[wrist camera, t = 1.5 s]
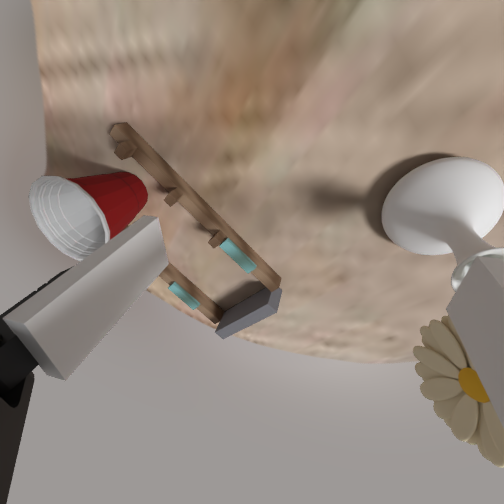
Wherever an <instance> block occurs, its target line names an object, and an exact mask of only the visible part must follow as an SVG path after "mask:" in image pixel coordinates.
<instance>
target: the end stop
mask: <svg viewBox="0 0 504 504" xmlns="http://www.w3.org/2000/svg"><path fill="white" fill-rule="evenodd" d="M281 294H282V290H281V289H280V288H278V289H276V290H274V291H273V292H271V291H270V290H269V289H268V288H264V289H262V290H261V291H259V292H257V293H256V294H254V295H252V296H251V297H249V298H247V299H245V300H244V301H242V302H240V303H239V304H237V305H235V306H234V307H232V308H230V309H228V310H227V311H225V312H224V314H223V316H222V318H221V320H220V323H219V325H218V327H217V329H216V331H215V333H216V334H218V335H219V336H220V337H221V338H222V339H224V338H226V337H228V336H230V335H232V334H234V333H236V332H238V331H240V330H242V329H244V328H247V327H249V326H251V325H253V324H255V323H257V322H259V321H261V320H263V319H265V318H267V317H269V316H271V315H273V314H275V313H277V310H278V306H279V302H280V298H281Z"/></svg>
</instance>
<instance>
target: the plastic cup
mask: <svg viewBox="0 0 504 504" xmlns="http://www.w3.org/2000/svg"><path fill="white" fill-rule="evenodd" d="M147 198H148V193H147V190H146V187H145V185H144V184H143V182H142V181H141V180H140V179H139V178H138V177H137V176H135V175H133V174H131V173H129V172H117V173H111V174H101V175H94V176H87V177H80V178H74V179H73V178H68V179H67V178H63V177H61V176H41V177H40V178H39V179H37V180H36V181H35V182H33V183H32V186H31V189H30V193H29V201H30V208H31V212H32V214H33V217H34V219H35V221H36V223H37V225H38V227H39V229H40V230H41V231H42V232H43V234H44V235H45V236H46V238H47V239H48V240H49V241H50V242H51V243H52V244H53V245H54V246H55V247H56V248H58V249H59V250H60V251H61V252H62V253H64V254H66V255H68V256H70V257H72V258H74V259H76V260H78V261H82V260H83V259H85V258H86V257H87V256H89V255H90V254H92V253H93V252H94V251H96V250H97V249H98V248H100V247H101V246H103V245H104V244H105V243H107V242H108V241H109V240H111V239H112V238H114V237H115V236H116V235H118V234H119V233H120V232H122V231H123V230H124V228H125V227H126V226H127V225H128V224H129V223H130V222H131V221H132V220H133V219H134V218H135V216H136V215H137V214H138V213H139V212H140V210H141V209H142V208H143V207H144V205H145V204H146V202H147Z"/></svg>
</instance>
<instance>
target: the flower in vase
mask: <svg viewBox="0 0 504 504" xmlns="http://www.w3.org/2000/svg"><path fill="white" fill-rule="evenodd" d="M503 210H504V184H503V181H502V179H501V177H500V176H499V174H498V173H497V172H496V171H495V170H494V169H493V168H492V167H491V166H489V165H488V164H486V163H484V162H482V161H479V160H476V159H472V158H467V157H448V158H442V159H438V160H434V161H431V162H428V163H425V164H423V165H421V166H419V167H417V168H415V169H414V170H412V171H410V172H409V173H407V174H406V175H405V176H404V177H402V178H401V179H400V180H399V181H398V182H397V183H396V184H395V185H394V187H393V188H392V189H391V190H390V192H389V194H388V195H387V197H386V199H385V201H384V205H383V208H382V225H383V228H384V230H385V232H386V234H387V235H388V237H389V238H390V239H391V240H392V241H393V242H394V243H395V244H397V245H398V246H400V247H402V248H403V249H405V250H408V251H410V252H413V253H417V254H422V255H441V254H447V253H452V252H453V253H454V255H455V258H456V261H457V267H456V268H455V269H454V271H453V273H452V277H451V285H452V288H453V290H454V291H455V292H456V291H457V289H458V287H459V286H460V284H461V282H462V281H463V279H464V277H465V275H466V274H467V272H468V270H469V269H470V267H471V265H472V263H473V262H474V260H475V258H476V257H477V256H482V257H490V258H498V259H502V260H503V261H504V247H499V248H496V247H494V246H492V245H490V244H489V243H487V242H486V241H484V240H483V239H482V237H484V236H485V235H486V234H487V233H488V232H489V231H490V230H491V229H492V228H493V227H494V226H495V224H496V223H497V222H498V220H499V218H500V217H501V215H502V212H503ZM420 333H421V335H422V342H423V344H424V346H425V347H422V346H415V347H414V348H413V353H414V356H415V357H416V358H417V359H418V360H419V361H420V362H419V363H417V364H416V365H415V370H416V372H417V374H418V375H419V376H420V377H422V378H423V380H424V382H423V383H422V384H421V386H420V390H421V392H422V394H423V396H424V397H425V398H427V399H429V400H433V401H434V406H433V407H434V411H435V413H436V414H437V416H438V417H440V418H442V419H444V421H445V423H446V424H447V425H448V426H449V427H450V428H451V430H452V432H453V434H454V435H455V436H456V437H457V438H458V439H459V440H461V441H464V442H465V441H466V442H468V443H469V444H472V445H475V444H477V445H478V448H479V451H480V453H481V454H482V455H483V456H484V457H485V458H486V459H487V460H489V461H491V462H492V463H493V464H494V465H496V466H498V467H501V468H504V428H503V426H502V424H501V422H500V420H499V418H498V416H497V413H496V411H495V409H494V407H493V405H492V403H491V401H490V399H489V397H488V395H487V393H486V391H485V389H484V387H483V385H482V383H481V380H480V378H479V376H478V374H477V372H476V370H475V368H474V366H473V364H472V362H471V360H470V358H469V356H468V354H467V352H466V350H465V347H464V345H463V343H462V341H461V339H460V337H459V335H458V333H457V331H456V329H455V327H454V325H453V323H452V321H451V319H450V317H449V315H448V316H443V317H442V320H441V322H440V321H438V320H431V321H430V324H429V327H427V326H422V327H421V329H420Z"/></svg>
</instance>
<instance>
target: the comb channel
mask: <svg viewBox="0 0 504 504" xmlns="http://www.w3.org/2000/svg"><path fill="white" fill-rule="evenodd" d="M109 135H110V136H111V137H112V138H114V139H115V140H116V141H117V142H118V143H119V144H118V146H117V148H116V150H115V152H114V153H115V154H116V155H117V156H118V157H119V158H120V159H121V160H123V159H126V158H129V157H131V156H132V157H133V158H134V159H135V160H136V161H137V162H138V163H139V164H140V165H141V166H142V167H143V168H144V169H145V170H146V171H147V172H148V173H149V174H150V175H151V176H153V177H154V178H155V179H156V180H157V181H158V182H159V183H160V184H161V185H162V186H163V187H164V188H165V189H166V190H167V191H168V192H169V194H168V195H167V196H166V198H165V199H164V201H165V202H166V203H167V204H168V205H169V206H170V207H171V206H172V205H173V204H175V203H176V202H177V201H178V202H179V203H180V204H181V205H182V206H183V207H184V208H185V209H186V210H187V211H188V212H189V213H191V214H192V215H193V216H194V217H195V218H196V219H197V220H198V221H199V222H200V223H201V224H202V225H203V226H204V227H205V228H206V229H207V230H208V231H209V232H210V233H211V234H212V235H213V237H212V238H211V239H210V240H209V242H208V243H209V244H210V245H211V246H212V247H213V248H215V247H217V246H218V245H219V244H220V243H221V244H220V247H221V248H222V249H223V250H224V251H225V252H226V253H227V254H228V255H229V256H230V257H231V258H232V259H233V260H234V261H235V262H236V263H237V264H238V265H239V266H240V267H241V268H242V269H244V270H245V271H246V272H247V273H250V272H251V273H252V274H253V275H254V276H255V277H256V278H257V279H258V280H259V281H260V282H261V283H262V284H263V285H264V286H265V287H266V288H268V289H269V290H270V291H271V292H273V291H274V290H276V289H278V288H279V286H280V282H281V277H280V276H279V275H278V274H277V273H276V272H275V271H274V270H273V269H272V268H271V267H270V266H269V265H268V264H267V263H266V262H265V261H264V260H263V259H262V258H261V257H260V256H259V255H258V254H257V253H256V252H255V251H254V250H253V249H252V248H251V247H250V246H249V245H248V244H247V243H246V242H245V241H244V240H243V239H242V238H241V237H240V236H239V235H238V234H237V233H236V232H235V231H234V230H233V229H232V228H231V227H230V226H229V225H228V224H227V223H226V222H225V221H224V220H223V219H222V218H221V217H220V216H219V215H218V214H217V213H216V212H215V211H214V210H213V209H212V208H211V207H210V206H209V205H208V204H207V203H206V202H205V201H204V200H203V199H202V198H201V197H200V196H199V195H198V194H197V193H196V192H195V191H194V190H193V189H192V188H191V187H190V186H189V185H188V184H187V183H186V182H185V181H184V180H183V179H182V178H181V177H180V176H179V175H178V174H177V173H176V172H175V171H174V170H173V169H172V168H171V167H170V166H169V165H168V164H167V163H166V162H165V161H164V160H163V158H162V157H161V156H160V155H159V154H158V153H157V152H156V151H155V150H154V149H153V148H152V147H151V146H150V145H149V144H148V143H147V142H146V141H145V140H144V139H143V138H142V137H141V136H140V135H139V134H138V133H137V132H136V131H135V130H134V129H133V128H132V127H131V126H130V125H129V124H128V123H127V122H126V123H121V124H116V125H114V126H113V128H112V130H111V132H110V134H109ZM127 227H129V226H128V225H127V226H126V227H125V228H124V230H125V229H126V228H127ZM159 276H160V277H161V278H162V279H163V280H164V281H165V282H167V283H168V284H169V285H170V286H169V287H168V289H169V290H171V291H172V292H173V293H174V294H175V295H176V296H178V297H179V298H180V299H181V300H182V301H183V302H185V303H186V304H187V305H188V306H189V307H190V308H192V309H193V310H194V309H196V308H197V309H198V310H199V311H200V312H201V313H203V314H204V315H205V316H206V317H207V318H208V319H210V320H211V321H212V322H213V323H214V324H216V323H218V322H220V320H221V318H222V316H223V314H224V311H223V310H222V309H221V308H220V307H219V306H218V305H216V304H215V303H214V302H213V301H212V300H211V299H210V298H209V297H207V296H206V295H205V294H204V293H203V292H202V291H201V290H200V289H198V288H197V287H196V286H195V285H194V284H193V283H192V282H191V281H189V280H188V279H187V278H186V277H185V276H184V275H183V274H182V273H180V272H179V271H178V270H177V269H176V268H175V267H174V266H173V265H172V264H170V263H169V264H168V265H167V267H166V268H165V269H164V270H163V271H162V272H161V273H160V274H159Z"/></svg>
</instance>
